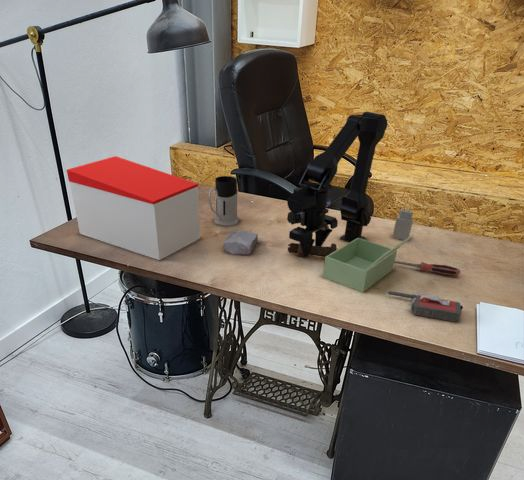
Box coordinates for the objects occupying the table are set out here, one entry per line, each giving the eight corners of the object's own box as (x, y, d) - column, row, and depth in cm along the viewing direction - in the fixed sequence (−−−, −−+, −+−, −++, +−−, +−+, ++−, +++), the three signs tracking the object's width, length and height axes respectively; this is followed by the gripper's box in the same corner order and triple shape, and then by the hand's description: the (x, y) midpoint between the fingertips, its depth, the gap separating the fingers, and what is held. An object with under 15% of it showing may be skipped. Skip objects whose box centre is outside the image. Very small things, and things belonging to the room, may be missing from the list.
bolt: (288, 257, 154) (334, 263, 151) (285, 255, 149) (332, 261, 146) (291, 239, 154) (337, 245, 150) (288, 237, 149) (335, 242, 145)
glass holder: (243, 220, 174) (243, 178, 165) (220, 232, 164) (219, 188, 155) (223, 214, 178) (223, 174, 169) (200, 226, 168) (198, 183, 159)
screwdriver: (376, 265, 148) (378, 256, 146) (377, 261, 150) (379, 252, 149) (458, 279, 143) (461, 270, 141) (458, 275, 145) (461, 266, 143)
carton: (354, 256, 153) (357, 237, 149) (392, 269, 146) (397, 250, 142) (322, 276, 140) (325, 256, 137) (362, 292, 134) (366, 271, 130)
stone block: (222, 257, 152) (252, 255, 150) (219, 243, 150) (249, 241, 147) (231, 244, 162) (260, 242, 159) (229, 230, 159) (257, 228, 157)
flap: (413, 234, 137) (414, 235, 137) (397, 247, 142) (398, 248, 142) (383, 254, 125) (384, 255, 125) (366, 268, 130) (367, 269, 130)
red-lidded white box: (123, 215, 173) (115, 156, 161) (200, 238, 159) (197, 175, 147) (78, 233, 159) (65, 169, 146) (159, 260, 145) (152, 192, 133)
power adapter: (394, 234, 169) (401, 201, 162) (409, 238, 167) (417, 204, 160) (391, 237, 166) (399, 203, 159) (407, 241, 165) (415, 207, 157)
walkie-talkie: (460, 307, 129) (386, 294, 133) (465, 293, 126) (389, 280, 131) (462, 324, 122) (384, 310, 126) (467, 309, 120) (387, 295, 124)
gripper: (311, 192, 151) (306, 238, 161) (276, 206, 139) (273, 255, 149) (341, 200, 146) (335, 247, 155) (307, 216, 134) (302, 266, 143)
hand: (311, 253), depth 151 cm, fingers closed on bolt, 6 cm apart
